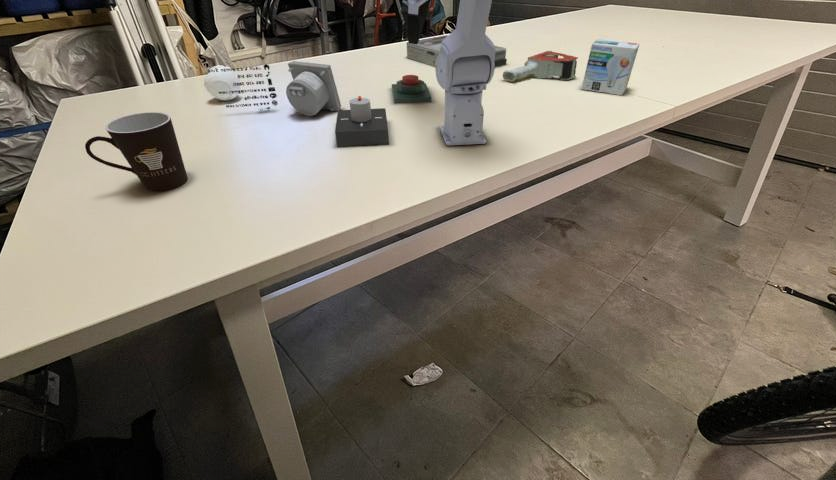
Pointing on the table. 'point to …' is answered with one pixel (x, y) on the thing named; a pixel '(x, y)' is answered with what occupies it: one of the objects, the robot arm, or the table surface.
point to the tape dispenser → (545, 67)
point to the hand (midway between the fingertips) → (415, 35)
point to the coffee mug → (146, 149)
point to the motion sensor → (222, 83)
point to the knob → (360, 109)
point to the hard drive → (430, 50)
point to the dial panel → (361, 129)
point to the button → (410, 80)
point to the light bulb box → (609, 66)
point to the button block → (411, 93)
